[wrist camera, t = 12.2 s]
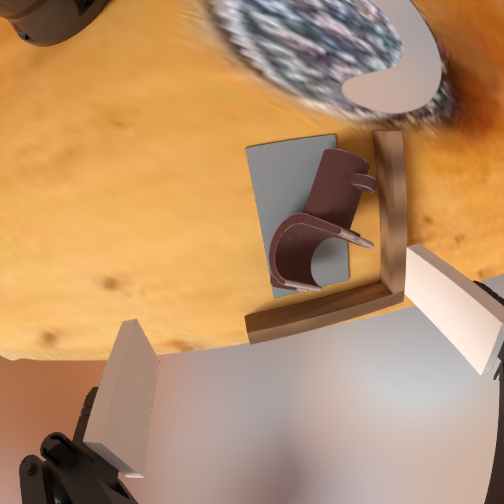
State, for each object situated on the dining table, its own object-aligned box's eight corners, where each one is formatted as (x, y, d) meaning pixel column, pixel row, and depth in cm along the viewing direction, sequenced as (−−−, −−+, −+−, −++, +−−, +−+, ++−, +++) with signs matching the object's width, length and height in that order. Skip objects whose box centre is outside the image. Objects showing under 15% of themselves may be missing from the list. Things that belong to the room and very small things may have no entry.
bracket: (253, 280, 35) (309, 317, 27) (299, 146, 33) (367, 148, 25) (289, 287, 38) (345, 320, 30) (331, 166, 36) (395, 174, 28)
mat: (245, 148, 32) (245, 147, 32) (334, 134, 32) (335, 134, 32) (273, 297, 40) (274, 298, 39) (348, 278, 40) (348, 279, 40)
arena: (206, 156, 32) (205, 158, 28) (384, 130, 33) (401, 130, 29) (247, 327, 41) (250, 344, 37) (390, 289, 42) (403, 301, 38)
